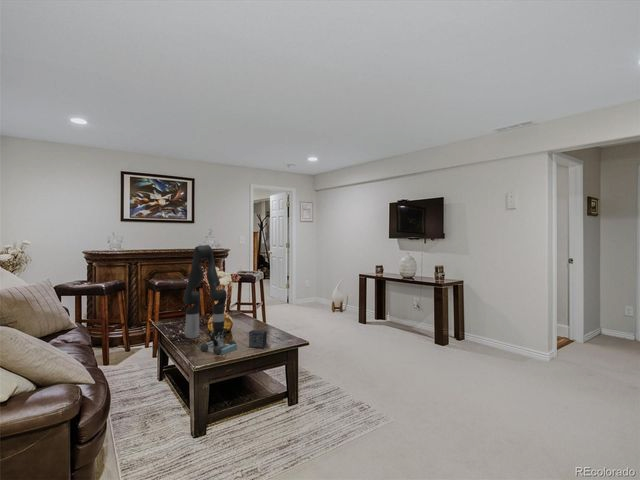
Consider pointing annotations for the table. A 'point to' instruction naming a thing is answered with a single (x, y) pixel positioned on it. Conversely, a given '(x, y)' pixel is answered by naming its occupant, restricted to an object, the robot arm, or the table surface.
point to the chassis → (217, 349)
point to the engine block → (220, 342)
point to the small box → (257, 339)
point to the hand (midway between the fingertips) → (218, 345)
